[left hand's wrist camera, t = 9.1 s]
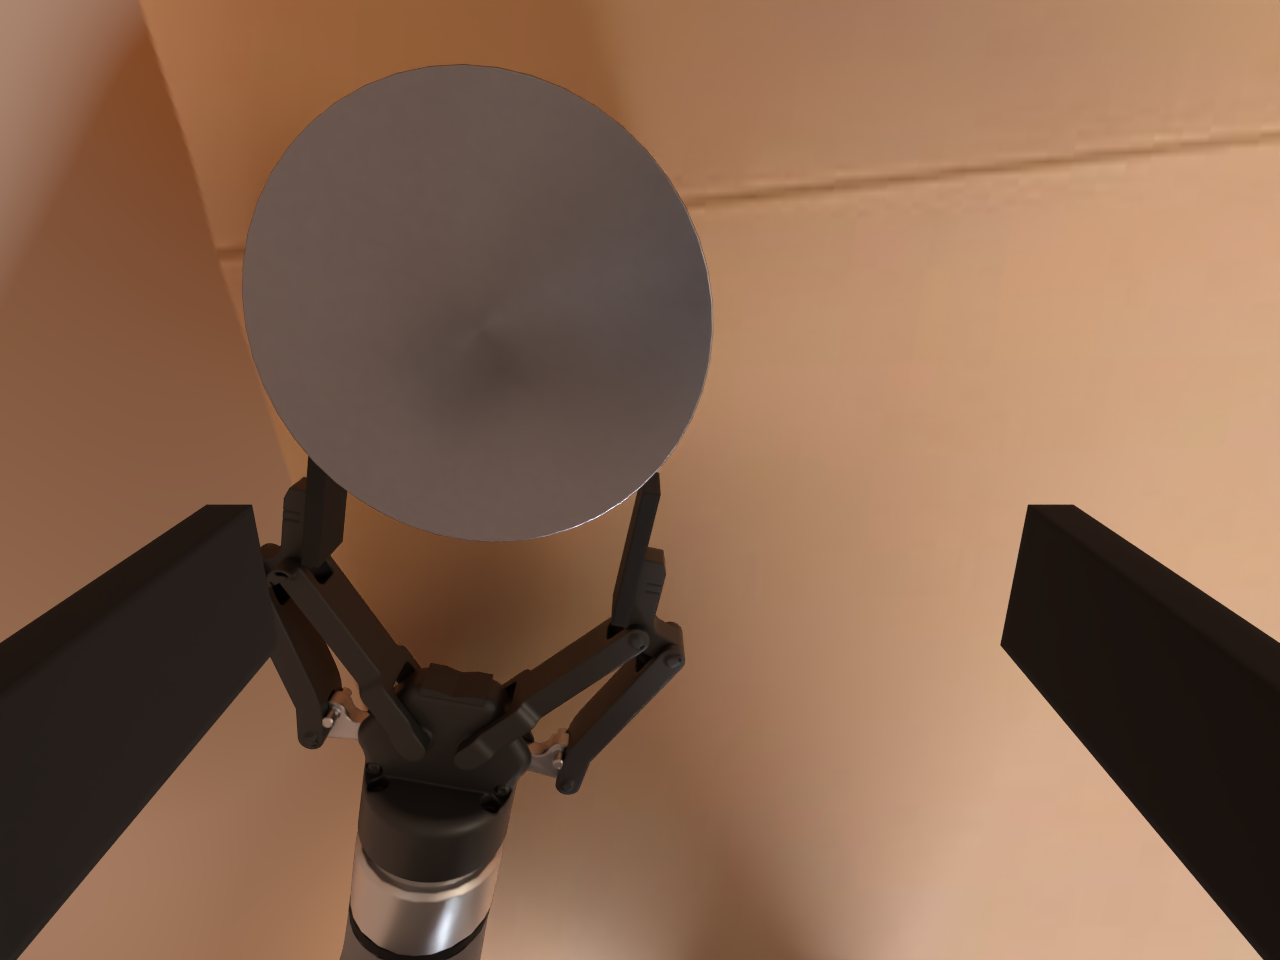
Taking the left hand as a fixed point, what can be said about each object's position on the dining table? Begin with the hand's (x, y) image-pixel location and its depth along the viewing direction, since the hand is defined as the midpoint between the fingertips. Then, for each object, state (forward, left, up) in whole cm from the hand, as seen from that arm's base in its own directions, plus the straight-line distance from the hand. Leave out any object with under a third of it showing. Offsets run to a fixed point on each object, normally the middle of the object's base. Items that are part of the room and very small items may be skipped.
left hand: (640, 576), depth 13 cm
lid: (-3, -4, -7) cm, 8 cm away
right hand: (+4, -5, -18) cm, 19 cm away
